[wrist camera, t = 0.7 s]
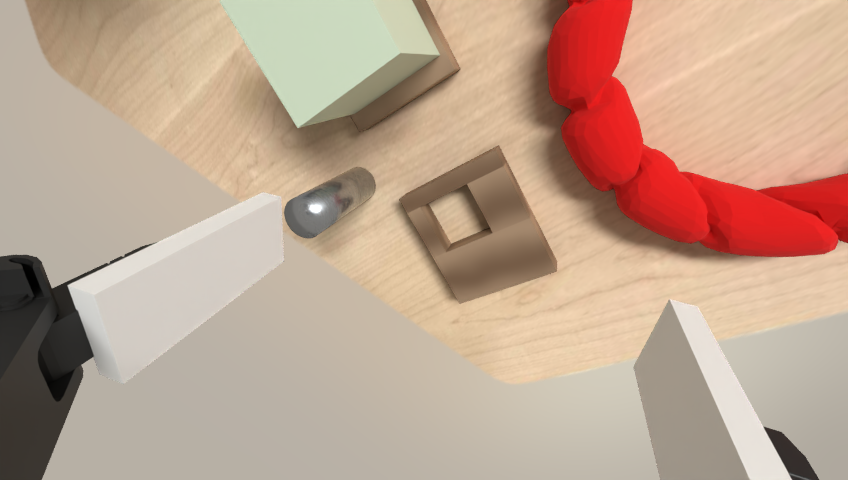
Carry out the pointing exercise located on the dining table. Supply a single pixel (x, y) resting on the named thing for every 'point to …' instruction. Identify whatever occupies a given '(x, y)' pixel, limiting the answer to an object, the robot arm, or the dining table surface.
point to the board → (412, 77)
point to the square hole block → (489, 249)
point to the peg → (329, 202)
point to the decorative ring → (656, 173)
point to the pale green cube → (332, 50)
